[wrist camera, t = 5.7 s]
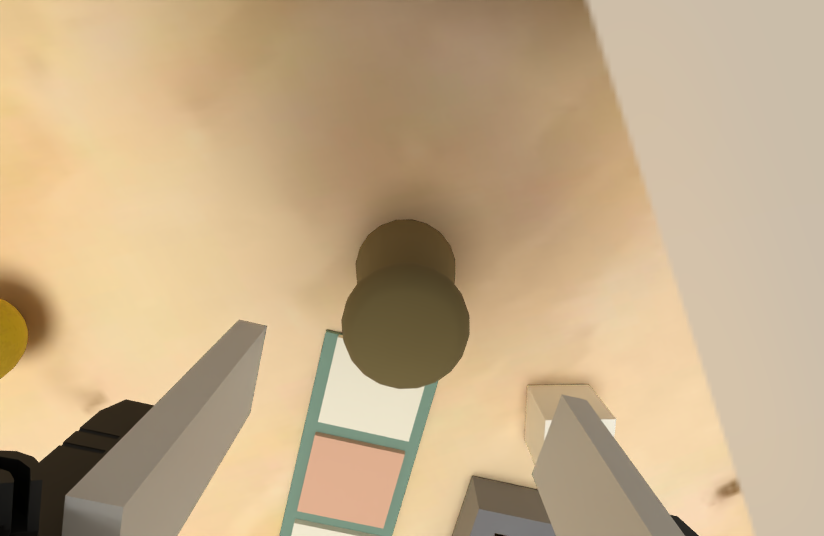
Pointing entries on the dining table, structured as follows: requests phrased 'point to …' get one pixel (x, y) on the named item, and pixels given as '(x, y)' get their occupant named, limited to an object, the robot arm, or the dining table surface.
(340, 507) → the track
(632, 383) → the dining table surface
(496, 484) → the base
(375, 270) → the brown game pawn
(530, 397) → the die
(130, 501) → the robot arm
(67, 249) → the dining table surface
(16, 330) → the lemon
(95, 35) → the dining table surface
